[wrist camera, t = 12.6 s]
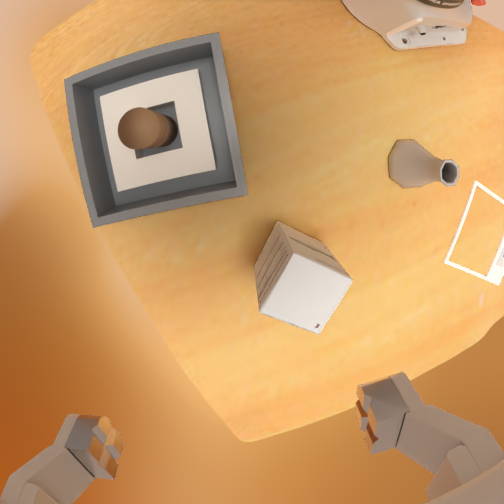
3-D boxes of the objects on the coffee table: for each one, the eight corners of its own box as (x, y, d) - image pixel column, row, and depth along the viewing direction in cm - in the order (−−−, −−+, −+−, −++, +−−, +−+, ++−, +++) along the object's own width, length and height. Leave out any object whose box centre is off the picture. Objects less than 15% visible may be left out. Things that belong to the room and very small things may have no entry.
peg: (174, 111, 34) (154, 102, 25) (180, 142, 36) (161, 143, 26) (143, 119, 34) (114, 114, 25) (149, 150, 36) (122, 154, 26)
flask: (392, 131, 37) (432, 132, 28) (432, 147, 38) (476, 153, 29) (381, 181, 40) (419, 195, 30) (422, 194, 40) (463, 210, 31)
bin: (221, 50, 33) (218, 32, 26) (245, 185, 39) (248, 194, 32) (89, 86, 33) (64, 79, 26) (114, 213, 39) (93, 227, 33)
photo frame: (499, 286, 46) (444, 263, 44) (496, 283, 47) (441, 260, 45) (526, 218, 42) (476, 180, 39) (522, 216, 43) (471, 179, 40)
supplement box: (324, 241, 42) (356, 280, 30) (298, 286, 44) (319, 337, 32) (276, 217, 41) (294, 251, 29) (251, 265, 43) (257, 314, 31)
